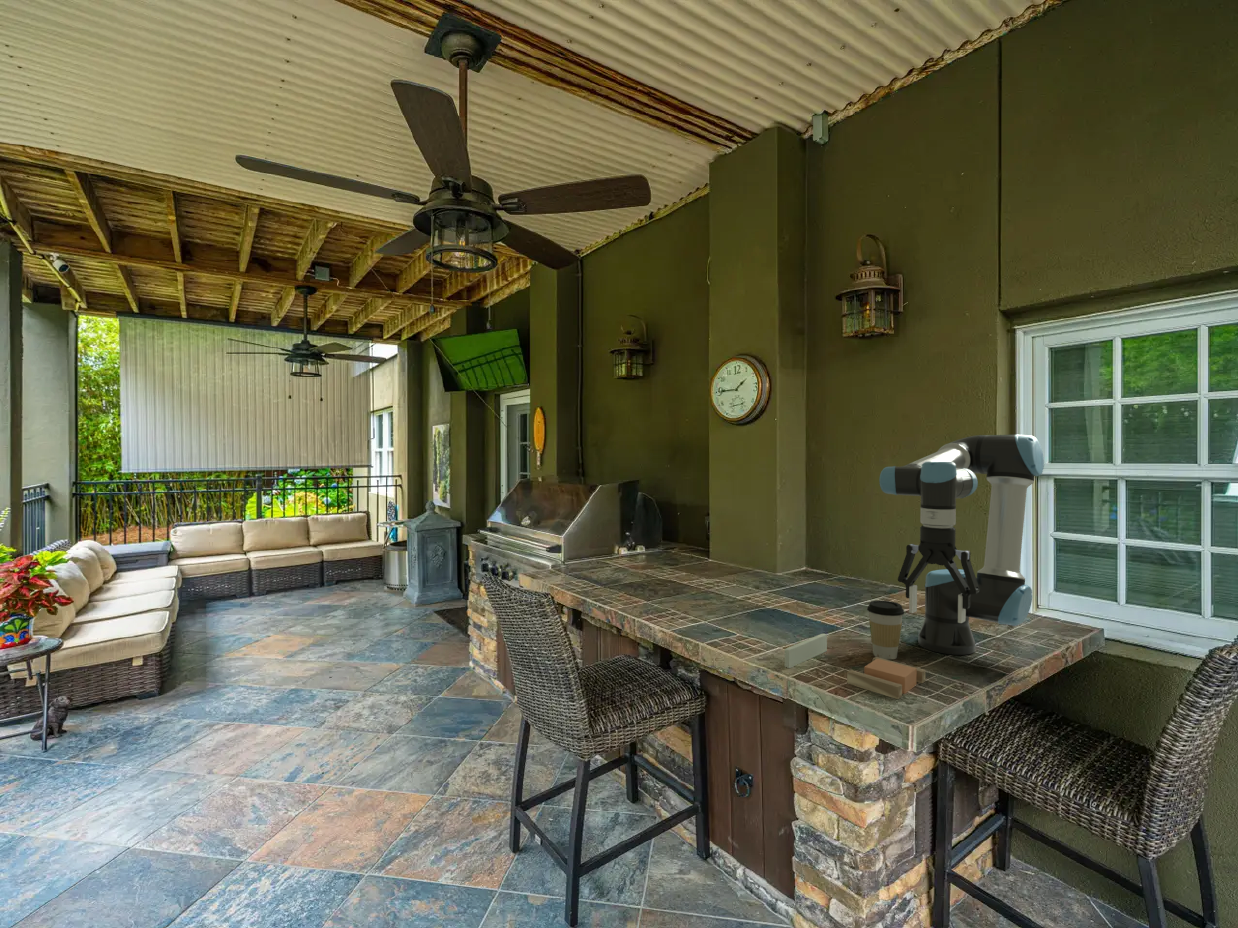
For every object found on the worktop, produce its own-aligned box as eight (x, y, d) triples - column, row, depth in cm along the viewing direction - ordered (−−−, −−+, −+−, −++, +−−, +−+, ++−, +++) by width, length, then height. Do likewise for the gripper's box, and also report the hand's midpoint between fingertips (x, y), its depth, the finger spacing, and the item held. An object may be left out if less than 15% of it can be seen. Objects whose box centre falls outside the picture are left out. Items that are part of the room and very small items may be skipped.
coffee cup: (893, 649, 179) (893, 599, 179) (910, 661, 170) (911, 608, 169) (860, 649, 179) (861, 600, 179) (876, 662, 169) (876, 609, 169)
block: (876, 675, 161) (877, 658, 160) (916, 685, 154) (916, 668, 153) (864, 683, 155) (864, 666, 155) (904, 695, 148) (904, 677, 148)
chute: (875, 667, 165) (876, 656, 165) (925, 681, 155) (925, 669, 155) (847, 683, 155) (847, 671, 154) (898, 699, 145) (898, 687, 145)
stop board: (822, 649, 179) (822, 633, 179) (826, 651, 178) (826, 634, 178) (784, 666, 166) (784, 649, 166) (789, 668, 165) (789, 650, 165)
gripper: (883, 522, 150) (882, 609, 151) (985, 532, 133) (984, 630, 134) (896, 519, 155) (895, 604, 156) (996, 529, 138) (995, 623, 139)
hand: (936, 616), depth 145 cm, fingers open, 10 cm apart
